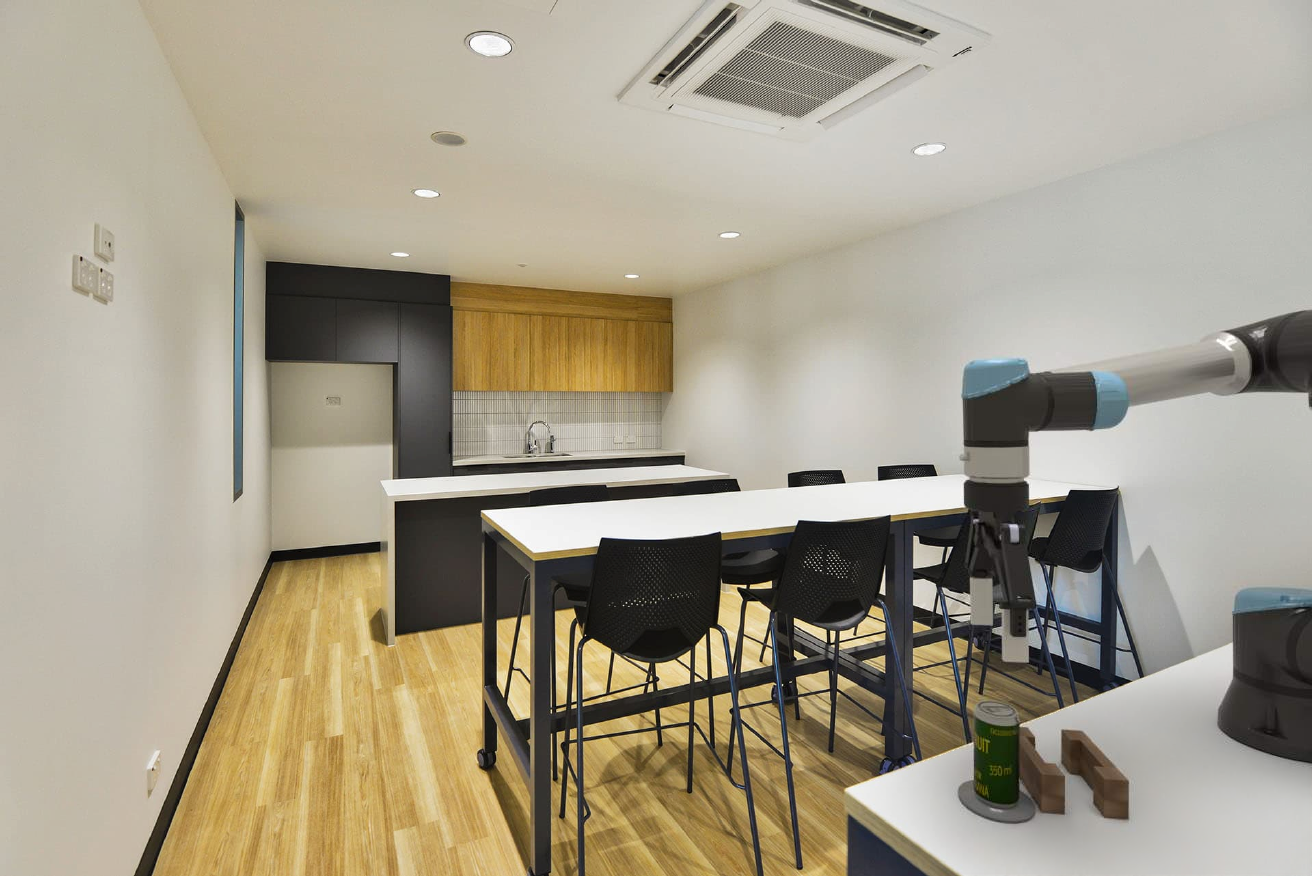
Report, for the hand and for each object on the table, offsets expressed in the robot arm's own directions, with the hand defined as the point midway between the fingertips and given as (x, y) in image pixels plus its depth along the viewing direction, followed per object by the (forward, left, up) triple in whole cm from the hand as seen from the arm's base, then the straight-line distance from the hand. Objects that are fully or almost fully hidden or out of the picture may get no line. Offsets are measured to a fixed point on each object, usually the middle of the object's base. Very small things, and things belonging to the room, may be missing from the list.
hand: (997, 641), depth 86 cm
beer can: (0, 0, -21) cm, 21 cm away
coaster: (0, 0, -22) cm, 22 cm away
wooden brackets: (-10, -5, -22) cm, 24 cm away
